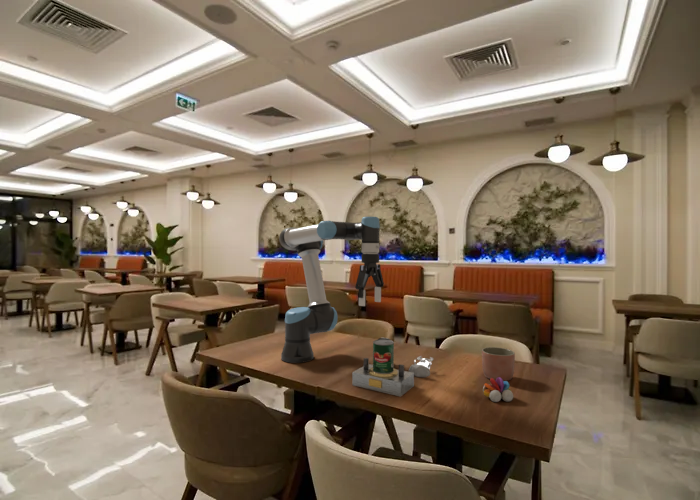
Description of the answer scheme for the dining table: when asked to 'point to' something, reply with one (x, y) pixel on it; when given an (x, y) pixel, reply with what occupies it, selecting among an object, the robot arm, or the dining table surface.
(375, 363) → the canned tomato
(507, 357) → the planter
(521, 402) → the dining table surface
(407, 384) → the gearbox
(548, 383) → the dining table surface
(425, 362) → the figurine
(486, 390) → the rainbow wheeled toy
